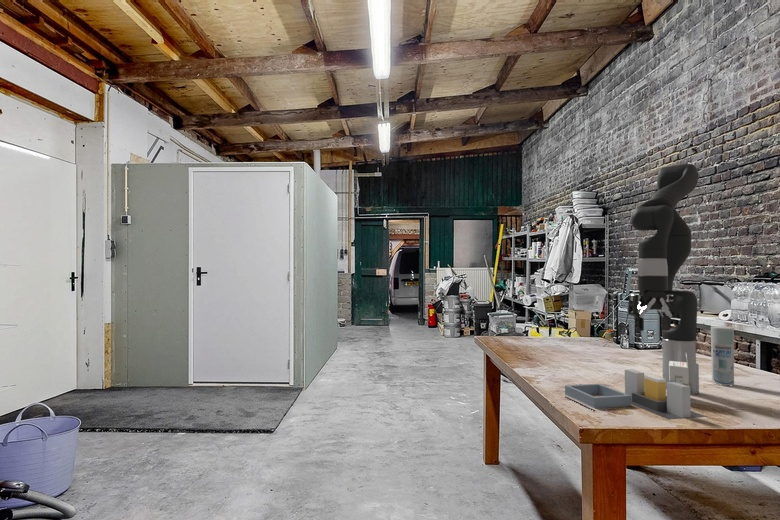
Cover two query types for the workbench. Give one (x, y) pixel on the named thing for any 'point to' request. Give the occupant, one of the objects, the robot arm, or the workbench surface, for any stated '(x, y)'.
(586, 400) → the tray
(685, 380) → the ink cartridge box
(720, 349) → the spray can
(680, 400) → the fuse block
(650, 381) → the block
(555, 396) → the workbench surface
